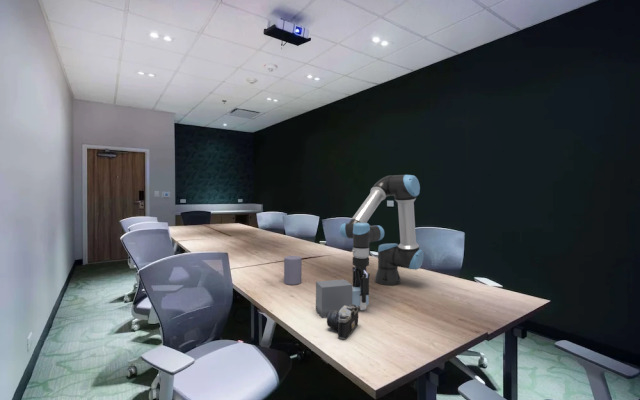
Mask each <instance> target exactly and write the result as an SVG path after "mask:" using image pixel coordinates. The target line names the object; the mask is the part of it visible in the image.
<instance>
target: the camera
mask: <svg viewBox="0 0 640 400" xmlns="http://www.w3.org/2000/svg"><path fill="white" fill-rule="evenodd" d="M358 323H359V306H356V305H354V304H352V305H349V306H345V305H344V306H343V307H342V308H341V309H340V311H336V310H331V311H330V312H329V313H328V316H327V318H326V326H327V327H330V328H332V329H334V330H337V332H338V333H337V338H338V339H340V340H347V338H348V337H349V336H350V335H351V334H352V332H353V331H354V329H356V328H357V327H358V325H359V324H358Z"/></svg>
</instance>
